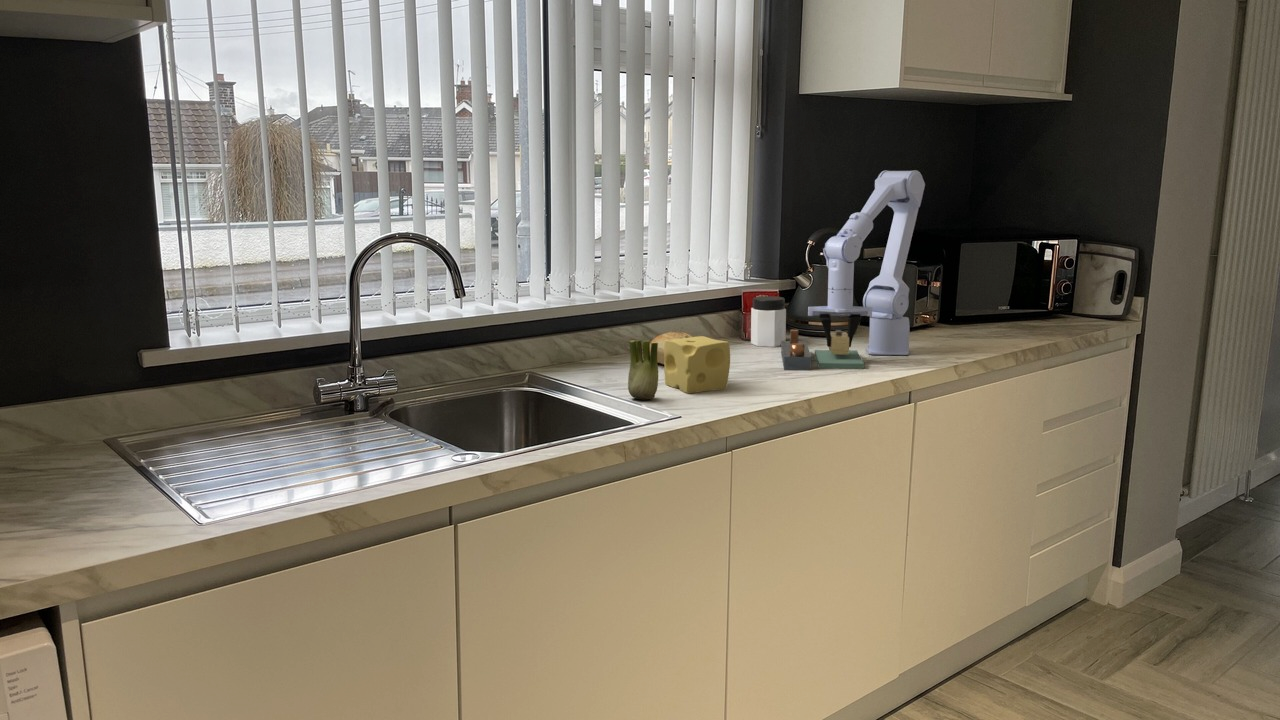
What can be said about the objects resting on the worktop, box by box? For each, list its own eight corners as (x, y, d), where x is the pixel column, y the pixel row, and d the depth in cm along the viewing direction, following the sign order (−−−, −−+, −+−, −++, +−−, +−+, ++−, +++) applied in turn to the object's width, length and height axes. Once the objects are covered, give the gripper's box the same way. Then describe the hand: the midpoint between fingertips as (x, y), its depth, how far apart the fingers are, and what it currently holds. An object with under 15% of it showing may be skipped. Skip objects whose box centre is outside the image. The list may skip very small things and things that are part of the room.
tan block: (828, 348, 232) (829, 329, 231) (845, 348, 232) (846, 329, 231) (831, 354, 225) (831, 334, 225) (848, 354, 225) (849, 334, 224)
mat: (856, 355, 236) (856, 350, 236) (863, 368, 221) (864, 363, 221) (814, 354, 238) (814, 350, 237) (819, 368, 222) (819, 363, 222)
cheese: (687, 394, 198) (687, 346, 196) (662, 384, 208) (661, 338, 206) (730, 388, 203) (731, 341, 201) (703, 379, 212) (703, 334, 211)
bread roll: (668, 359, 235) (668, 326, 234) (711, 368, 224) (711, 334, 222) (637, 364, 229) (637, 331, 228) (681, 374, 218) (681, 339, 216)
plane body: (781, 353, 240) (781, 329, 239) (805, 353, 240) (806, 329, 239) (784, 369, 221) (784, 343, 220) (810, 370, 220) (811, 343, 219)
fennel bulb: (661, 399, 194) (661, 340, 192) (643, 403, 191) (642, 343, 189) (642, 394, 199) (641, 336, 196) (623, 398, 195) (622, 339, 193)
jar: (769, 348, 246) (770, 301, 244) (744, 344, 252) (745, 298, 250) (791, 343, 252) (792, 297, 250) (766, 340, 258) (767, 295, 256)
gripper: (809, 290, 223) (808, 349, 225) (874, 290, 221) (872, 349, 224) (808, 286, 230) (806, 343, 232) (870, 287, 228) (868, 344, 231)
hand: (838, 346), depth 228 cm, fingers closed on tan block, 4 cm apart
